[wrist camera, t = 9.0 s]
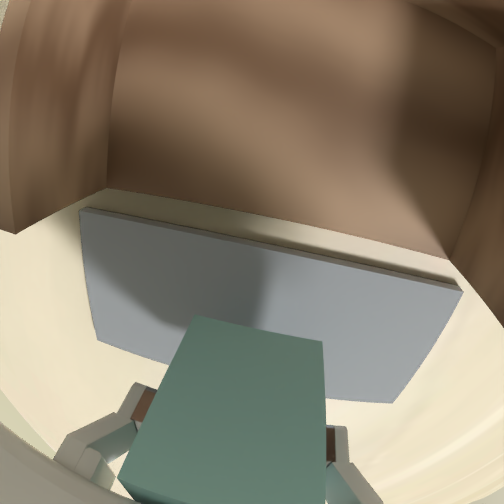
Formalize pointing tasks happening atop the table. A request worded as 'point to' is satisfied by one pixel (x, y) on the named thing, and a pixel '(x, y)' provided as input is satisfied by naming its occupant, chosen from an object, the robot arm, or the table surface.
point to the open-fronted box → (267, 115)
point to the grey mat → (260, 299)
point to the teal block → (234, 422)
